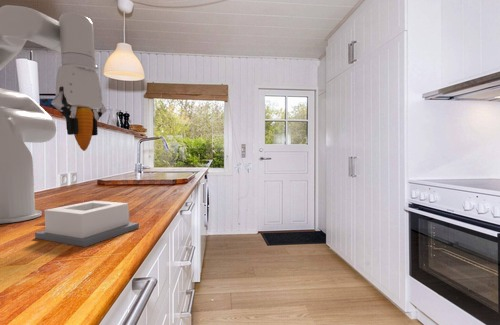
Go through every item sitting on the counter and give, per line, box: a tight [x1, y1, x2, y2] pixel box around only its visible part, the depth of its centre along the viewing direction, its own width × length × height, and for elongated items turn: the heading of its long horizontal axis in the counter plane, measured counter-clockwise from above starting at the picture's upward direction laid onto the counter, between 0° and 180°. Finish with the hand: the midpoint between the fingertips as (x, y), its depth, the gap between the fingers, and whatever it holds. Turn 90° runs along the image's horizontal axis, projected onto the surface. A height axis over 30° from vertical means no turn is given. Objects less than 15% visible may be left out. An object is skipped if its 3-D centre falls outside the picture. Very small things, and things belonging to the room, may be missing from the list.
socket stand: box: [34, 200, 140, 248], centre depth 63 cm, size 16×14×6 cm
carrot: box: [73, 107, 93, 152], centre depth 72 cm, size 5×5×15 cm
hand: (82, 134), depth 72 cm, fingers closed on carrot, 4 cm apart
